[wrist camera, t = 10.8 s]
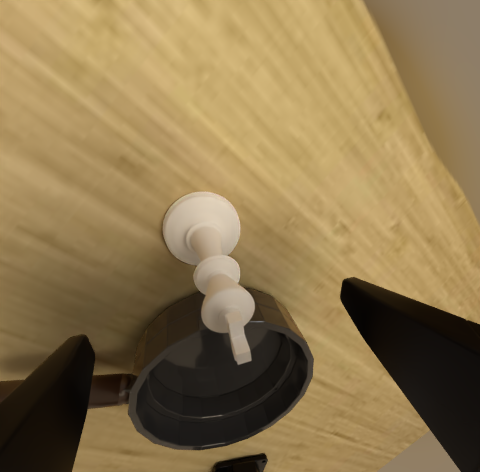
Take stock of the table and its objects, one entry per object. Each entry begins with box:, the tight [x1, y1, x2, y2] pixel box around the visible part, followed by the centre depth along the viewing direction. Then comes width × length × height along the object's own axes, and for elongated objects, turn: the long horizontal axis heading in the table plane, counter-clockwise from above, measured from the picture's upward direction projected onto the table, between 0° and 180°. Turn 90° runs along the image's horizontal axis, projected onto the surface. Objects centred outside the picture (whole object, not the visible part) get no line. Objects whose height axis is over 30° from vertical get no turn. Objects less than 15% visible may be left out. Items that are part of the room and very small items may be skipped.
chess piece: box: [163, 192, 255, 365], centre depth 12 cm, size 5×5×10 cm
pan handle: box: [0, 374, 139, 409], centre depth 15 cm, size 9×2×2 cm, turn 77°
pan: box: [128, 288, 314, 450], centre depth 19 cm, size 13×13×4 cm
